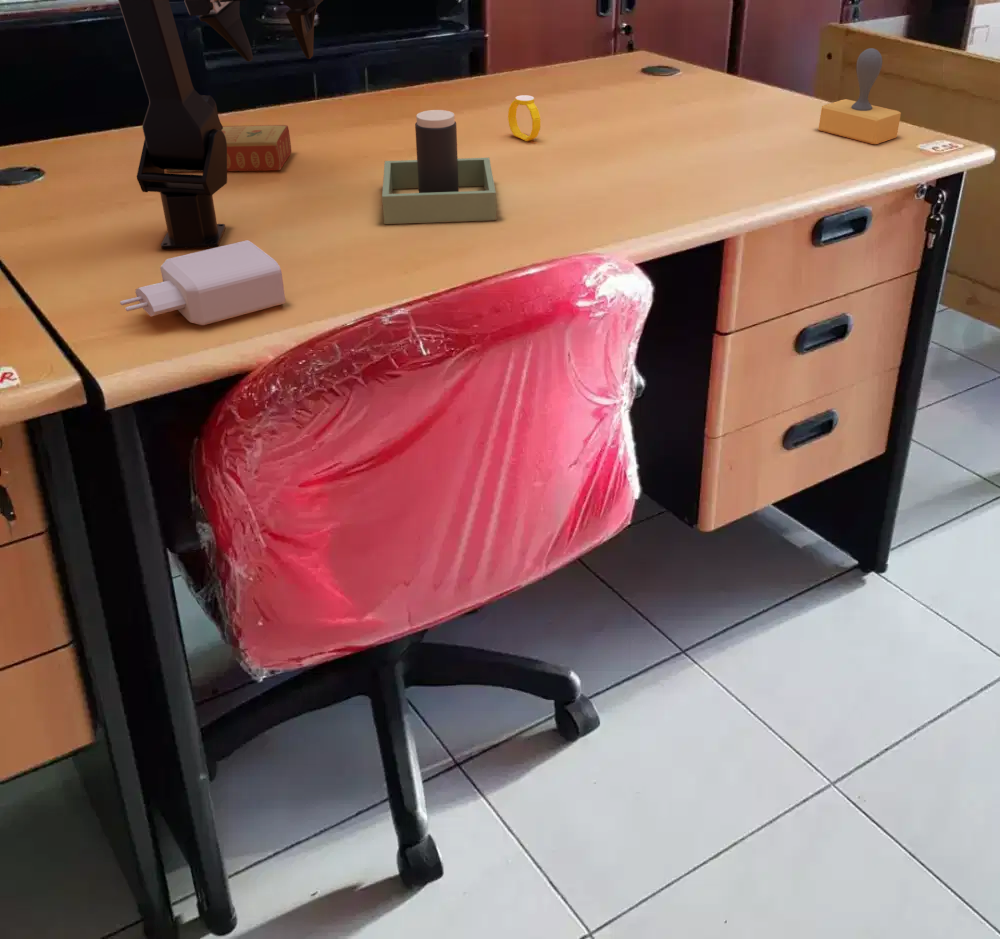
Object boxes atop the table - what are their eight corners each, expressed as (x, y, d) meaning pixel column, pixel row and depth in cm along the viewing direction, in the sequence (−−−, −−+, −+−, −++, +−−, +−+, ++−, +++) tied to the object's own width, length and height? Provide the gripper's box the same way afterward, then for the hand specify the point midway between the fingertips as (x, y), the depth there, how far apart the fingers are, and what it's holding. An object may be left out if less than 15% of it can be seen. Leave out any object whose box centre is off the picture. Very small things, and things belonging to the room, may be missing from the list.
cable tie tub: (459, 209, 134) (456, 119, 128) (419, 210, 134) (414, 121, 127) (458, 195, 138) (455, 108, 132) (419, 197, 138) (414, 109, 132)
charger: (113, 312, 110) (250, 278, 117) (143, 346, 103) (286, 307, 110) (103, 269, 107) (244, 236, 114) (133, 300, 101) (281, 264, 108)
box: (496, 220, 130) (495, 192, 128) (384, 224, 130) (381, 196, 128) (489, 183, 142) (489, 157, 140) (386, 187, 141) (384, 160, 139)
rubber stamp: (897, 137, 157) (914, 51, 150) (874, 145, 154) (890, 57, 147) (840, 123, 163) (853, 39, 156) (816, 130, 160) (829, 45, 153)
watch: (504, 135, 160) (503, 94, 156) (518, 132, 161) (518, 91, 158) (529, 145, 156) (529, 103, 152) (544, 141, 157) (544, 99, 154)
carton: (280, 172, 147) (276, 140, 144) (164, 173, 147) (158, 141, 145) (292, 153, 154) (288, 123, 151) (181, 153, 154) (175, 123, 152)
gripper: (333, -99, 130) (368, 28, 141) (207, -86, 137) (250, 35, 148) (291, -65, 123) (331, 67, 134) (160, -52, 130) (208, 72, 141)
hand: (279, 58), depth 139 cm, fingers open, 9 cm apart
